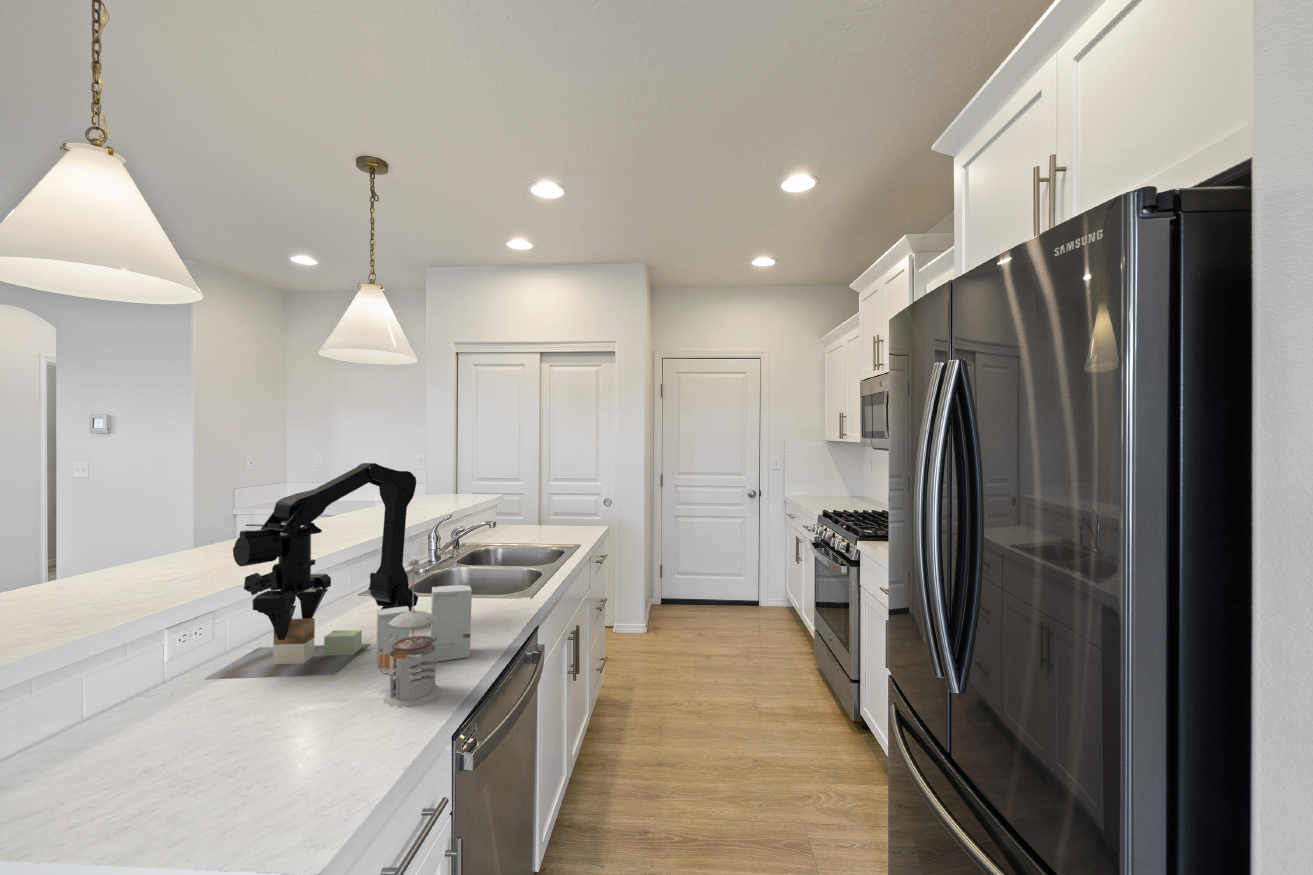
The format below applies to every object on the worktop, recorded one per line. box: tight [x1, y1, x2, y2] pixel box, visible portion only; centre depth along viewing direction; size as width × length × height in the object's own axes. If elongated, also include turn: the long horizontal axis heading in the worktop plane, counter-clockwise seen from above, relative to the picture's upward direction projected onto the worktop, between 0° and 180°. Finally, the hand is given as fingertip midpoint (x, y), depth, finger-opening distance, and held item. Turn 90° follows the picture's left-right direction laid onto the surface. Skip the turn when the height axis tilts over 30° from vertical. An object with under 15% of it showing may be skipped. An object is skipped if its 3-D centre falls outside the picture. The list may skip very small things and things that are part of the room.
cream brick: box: [272, 637, 315, 664], centre depth 117 cm, size 6×4×4 cm, turn 95°
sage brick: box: [323, 629, 363, 656], centre depth 121 cm, size 6×4×4 cm, turn 95°
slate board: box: [204, 643, 372, 680], centre depth 117 cm, size 24×17×1 cm
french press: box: [376, 558, 442, 708], centre depth 102 cm, size 10×12×25 cm
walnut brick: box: [273, 617, 316, 645], centre depth 117 cm, size 6×4×4 cm, turn 95°
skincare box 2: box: [430, 584, 473, 663], centre depth 122 cm, size 8×6×15 cm
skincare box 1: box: [376, 606, 410, 669], centre depth 115 cm, size 6×4×12 cm
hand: (294, 632), depth 117 cm, fingers open, 9 cm apart
